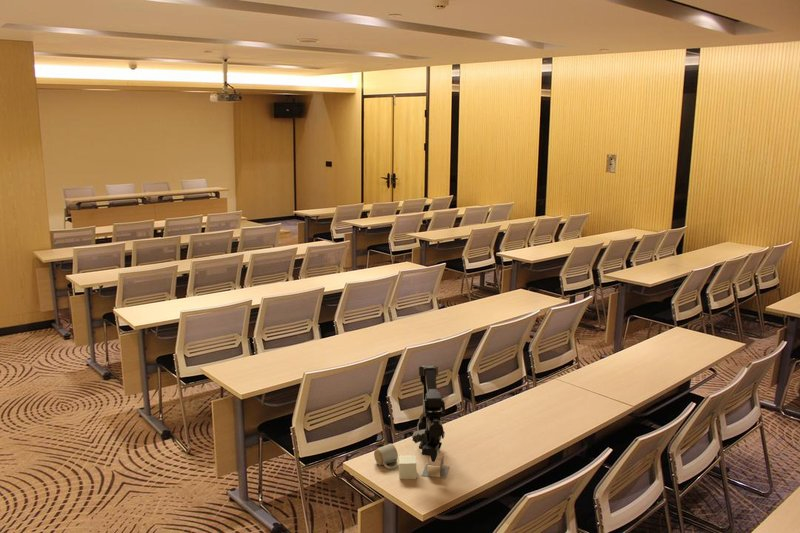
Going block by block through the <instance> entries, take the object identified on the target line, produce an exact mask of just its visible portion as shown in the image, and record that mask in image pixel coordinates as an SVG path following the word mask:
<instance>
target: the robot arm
mask: <svg viewBox="0 0 800 533" xmlns="http://www.w3.org/2000/svg"><path fill="white" fill-rule="evenodd" d="M417 376H418V377H419V380H420V382H421V384H422V413H421V414H420V416H419V420H418V421H417V430H415V431H414V432H413V434H412V435H411V438H412V442H414V444H418V443H419V445H418V449H421V455H422V456H428V457H429V458H430V457H431V460H432V462H435V460H436V457H437V455H438V453H439V452H440V449H441V447H442V444H443V443H442V441H441V440H442V439H444V438H445V435H446V434H445V431H444V427H443V423H442V418H444V417H445V414H446V405H445V404H446V403H445V401H444V399H443V398H442V395H441V393H440V392H439V391H438V386H437V376H439V367H438V366H436V365H435V364H421V365H420V366H419V367H418V368H417Z"/></svg>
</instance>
